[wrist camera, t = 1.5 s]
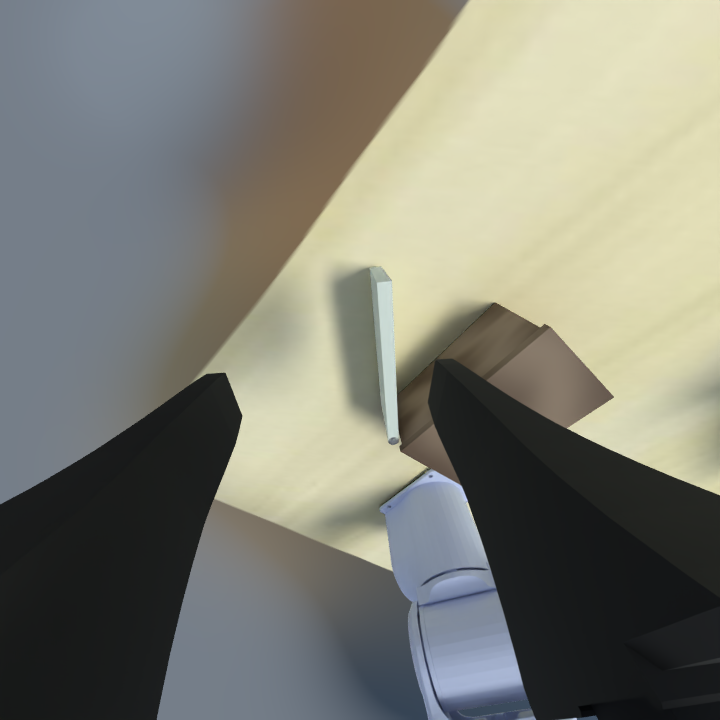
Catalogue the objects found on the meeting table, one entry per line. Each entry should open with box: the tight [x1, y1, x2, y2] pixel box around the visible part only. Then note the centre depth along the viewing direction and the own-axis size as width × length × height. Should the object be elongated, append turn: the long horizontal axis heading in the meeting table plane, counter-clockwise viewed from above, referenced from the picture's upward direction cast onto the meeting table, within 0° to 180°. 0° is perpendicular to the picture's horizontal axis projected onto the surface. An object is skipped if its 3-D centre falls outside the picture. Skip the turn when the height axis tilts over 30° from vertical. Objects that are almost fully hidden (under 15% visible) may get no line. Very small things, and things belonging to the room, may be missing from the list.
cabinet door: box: [370, 266, 399, 445], centre depth 19 cm, size 12×1×5 cm, turn 6°
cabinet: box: [397, 303, 614, 485], centre depth 21 cm, size 13×8×6 cm
